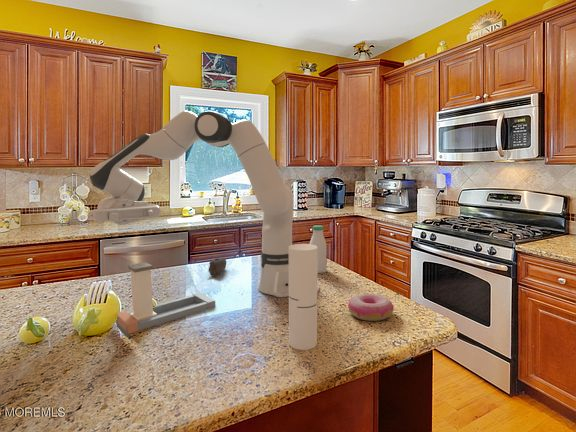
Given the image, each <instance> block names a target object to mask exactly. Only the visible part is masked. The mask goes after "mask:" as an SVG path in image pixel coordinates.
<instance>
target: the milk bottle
mask: <svg viewBox="0 0 576 432" xmlns="http://www.w3.org/2000/svg"><path fill="white" fill-rule="evenodd" d="M309 244H311V245H316V246H317V247H318V261H317V274H322V273H325V272H326V271H327V268H328V267H327V261H328V260H327V259H328V258H327V257H328V254H327V251H328V248H327V240H326V238H325V236H324V226H323V225H320V224H319V225H313V226H312V235H311V239H310V241H309Z"/></svg>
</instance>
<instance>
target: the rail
mask: <svg viewBox="0 0 576 432" xmlns="http://www.w3.org/2000/svg"><path fill="white" fill-rule="evenodd" d="M155 305H156V306H155V307H153V308H154V309H155V313H157V316H156V317H152V318H149V319H145V320H142V321H139V322H137V321H136V320H135V319H134V318H133V317H132V316H130V313H133V310H132V311H128V312H127V311H126V310H122V311H119V314H118V315H117V316H118V317H117V320H115V322H116V328H117V329H118V330H119V331H121V333H122V334H123V335H124V336H125V337H126V338H127V339H128V340H132V339H133V337H132V336H131V335H130V334H132V333H136V332H139V331H142V330H146V329H149V328H152V327H156V326H159V325H162V324H164V323H168V322H172V321H174V320H177V319H180V318H184V317H188V316H190V315H193V314H197V313H200V312H203V311H207V310H210V309H213V308H216V300H215V299H214V298H211V297H209V296H207V295H206V294H204V293H201V292H195V293H192V294H191V295H188V296H184V297H180V298H176V299H172V300H169V301H165V302H162V303H158V304H155Z"/></svg>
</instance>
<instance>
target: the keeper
mask: <svg viewBox="0 0 576 432" xmlns="http://www.w3.org/2000/svg"><path fill="white" fill-rule="evenodd" d="M128 270H130V283H131V295H132V309H133V310H132V311H133V313H130V316H132V317H133V318H134V319H135V320H136V321H137V322H139V321H142V320H145V319H149V318H152V317H156V316H157V313H155V312H154V311H153V306H154V303H153V286H152V285H153V283H152V271H151V270H153V265H152V264H150V263H148V262H146V261H145V262H139V263H136V264H129V265H128Z"/></svg>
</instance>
